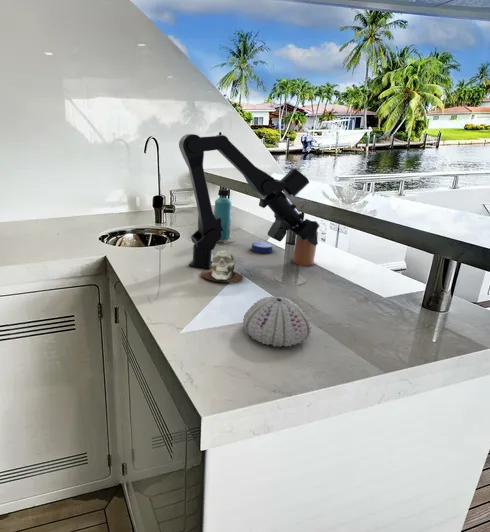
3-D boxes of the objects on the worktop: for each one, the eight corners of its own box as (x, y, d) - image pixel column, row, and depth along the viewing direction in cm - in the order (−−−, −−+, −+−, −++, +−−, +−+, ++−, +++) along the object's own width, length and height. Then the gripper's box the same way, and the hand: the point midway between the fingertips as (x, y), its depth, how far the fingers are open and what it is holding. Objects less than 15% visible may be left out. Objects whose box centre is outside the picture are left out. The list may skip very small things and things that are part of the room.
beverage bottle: (230, 244, 142) (235, 190, 135) (212, 244, 142) (216, 190, 135) (227, 240, 148) (232, 188, 141) (210, 239, 148) (214, 187, 142)
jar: (313, 266, 120) (320, 226, 116) (292, 264, 122) (298, 224, 118) (313, 260, 126) (319, 222, 121) (293, 258, 128) (298, 220, 123)
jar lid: (259, 246, 140) (260, 240, 139) (276, 251, 135) (276, 245, 134) (247, 250, 136) (248, 243, 135) (264, 254, 131) (264, 248, 130)
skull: (244, 283, 102) (220, 254, 101) (214, 302, 107) (191, 274, 106) (249, 268, 112) (227, 241, 112) (221, 286, 117) (201, 260, 116)
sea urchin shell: (320, 351, 73) (327, 314, 70) (251, 353, 72) (256, 315, 69) (292, 319, 85) (297, 286, 83) (233, 320, 84) (236, 287, 82)
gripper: (251, 219, 126) (278, 250, 132) (274, 233, 109) (305, 268, 114) (276, 195, 125) (303, 227, 130) (304, 205, 107) (334, 242, 113)
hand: (310, 241), depth 122 cm, fingers open, 7 cm apart
